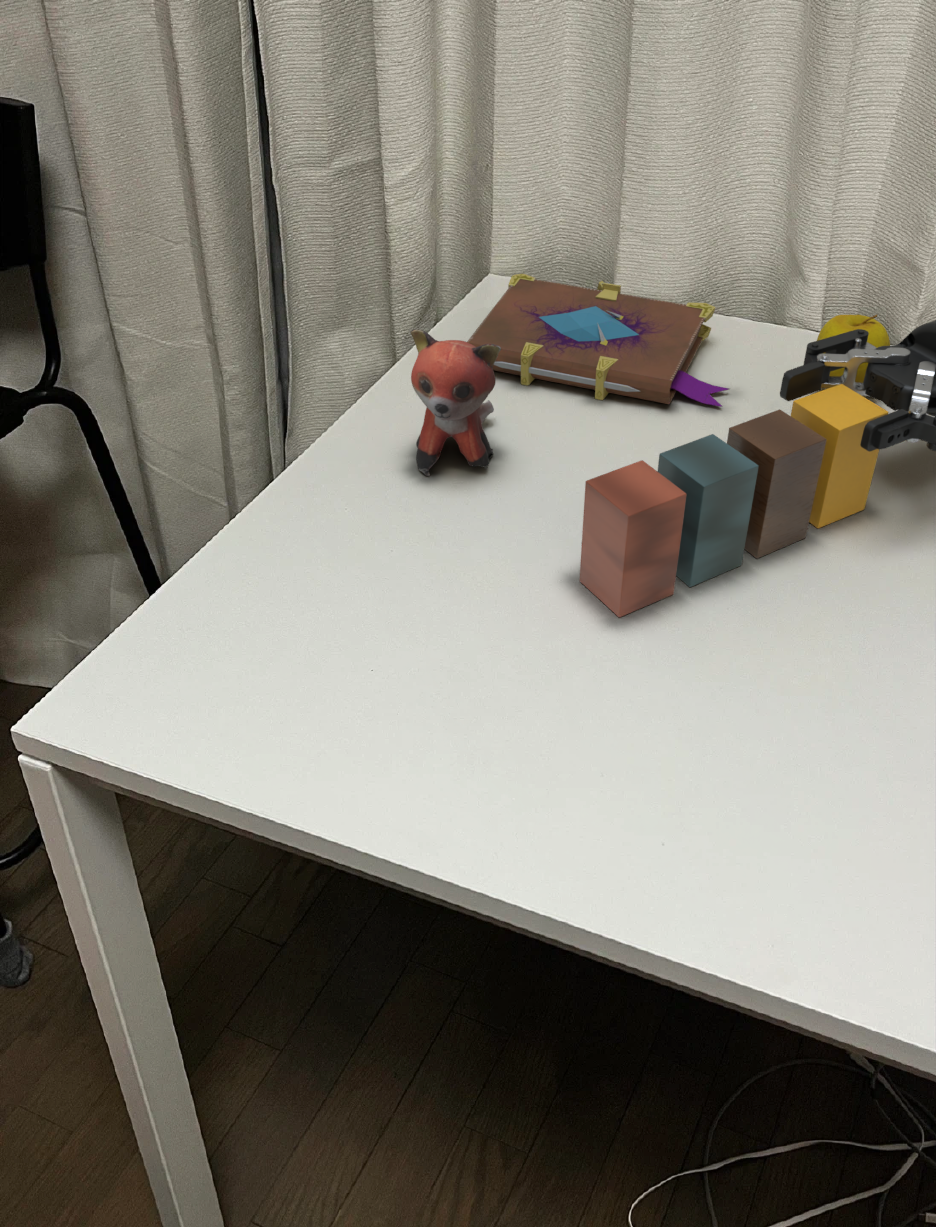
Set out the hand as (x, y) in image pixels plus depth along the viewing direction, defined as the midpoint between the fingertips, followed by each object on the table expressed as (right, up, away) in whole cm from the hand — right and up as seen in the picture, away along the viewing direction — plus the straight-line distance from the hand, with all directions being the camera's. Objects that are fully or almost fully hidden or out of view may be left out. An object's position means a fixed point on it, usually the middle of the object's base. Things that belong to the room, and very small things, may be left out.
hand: (823, 412), depth 89 cm
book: (-13, +10, +26) cm, 31 cm away
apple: (+8, +5, +21) cm, 23 cm away
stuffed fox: (-27, -1, +14) cm, 30 cm away
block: (+2, -6, +7) cm, 10 cm away
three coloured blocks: (-9, -11, +2) cm, 14 cm away
